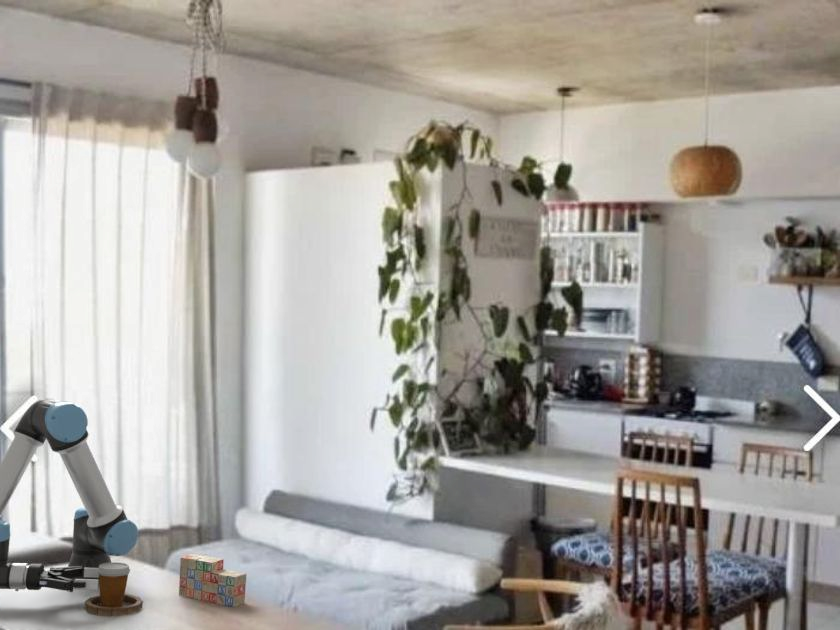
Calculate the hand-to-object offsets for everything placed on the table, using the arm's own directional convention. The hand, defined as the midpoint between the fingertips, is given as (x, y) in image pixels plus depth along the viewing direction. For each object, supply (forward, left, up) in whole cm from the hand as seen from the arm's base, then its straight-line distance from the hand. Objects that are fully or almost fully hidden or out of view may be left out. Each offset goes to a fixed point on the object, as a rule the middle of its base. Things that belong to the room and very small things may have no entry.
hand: (102, 578), depth 308 cm
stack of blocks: (-30, +16, -9) cm, 35 cm away
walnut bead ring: (-2, +3, -9) cm, 9 cm away
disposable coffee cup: (-3, +1, -9) cm, 9 cm away
